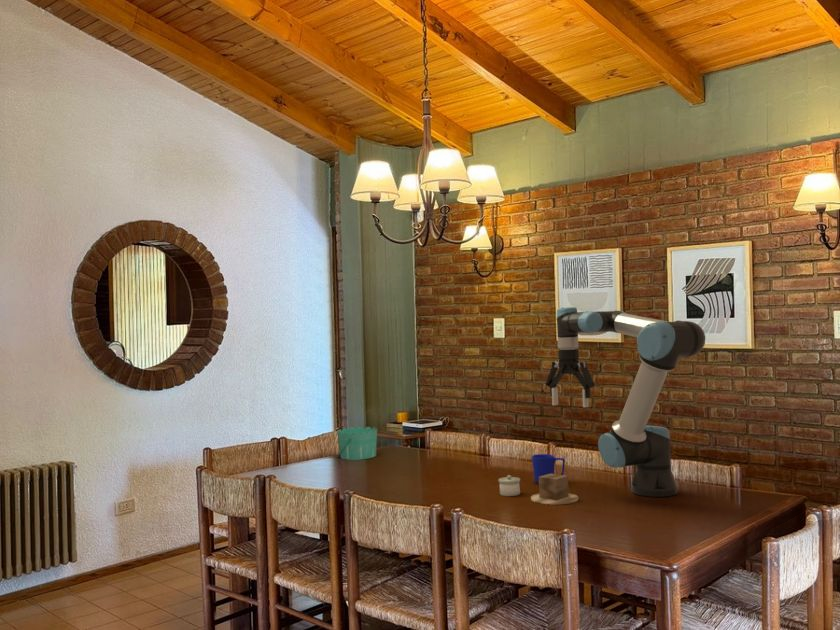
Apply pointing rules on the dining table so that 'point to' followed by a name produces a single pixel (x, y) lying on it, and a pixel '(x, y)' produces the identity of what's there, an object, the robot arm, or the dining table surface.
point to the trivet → (567, 500)
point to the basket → (357, 443)
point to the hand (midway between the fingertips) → (570, 406)
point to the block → (553, 486)
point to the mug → (544, 465)
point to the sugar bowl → (509, 486)
